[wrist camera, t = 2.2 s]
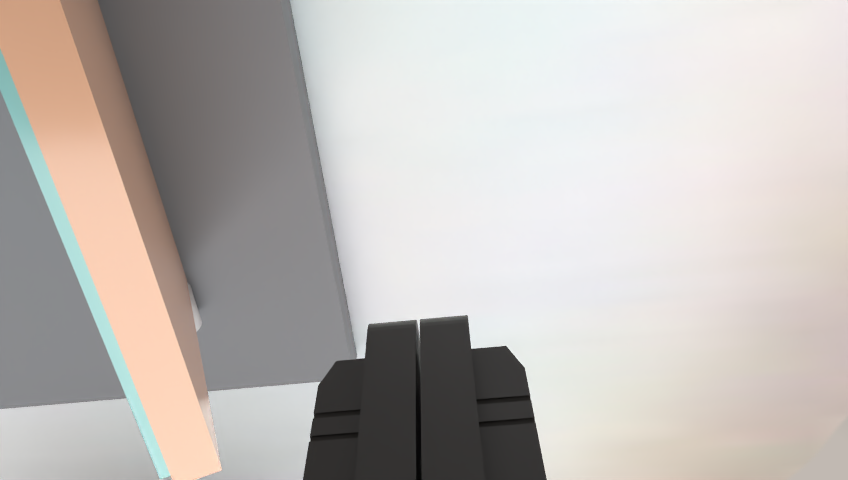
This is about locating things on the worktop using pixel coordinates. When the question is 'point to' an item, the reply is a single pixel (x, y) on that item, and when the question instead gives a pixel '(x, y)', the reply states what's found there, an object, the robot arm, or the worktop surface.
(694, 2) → the worktop surface
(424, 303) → the worktop surface
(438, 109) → the worktop surface
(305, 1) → the worktop surface
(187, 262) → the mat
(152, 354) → the tile
